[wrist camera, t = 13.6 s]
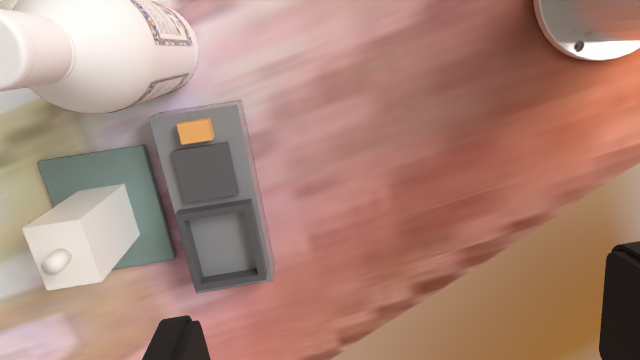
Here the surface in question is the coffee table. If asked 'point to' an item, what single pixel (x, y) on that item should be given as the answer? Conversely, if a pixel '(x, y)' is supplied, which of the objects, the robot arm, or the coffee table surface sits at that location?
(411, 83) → the coffee table surface
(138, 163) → the mat
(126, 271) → the coffee table surface
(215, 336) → the coffee table surface
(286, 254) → the coffee table surface
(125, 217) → the block
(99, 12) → the bath foam
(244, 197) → the power strip
